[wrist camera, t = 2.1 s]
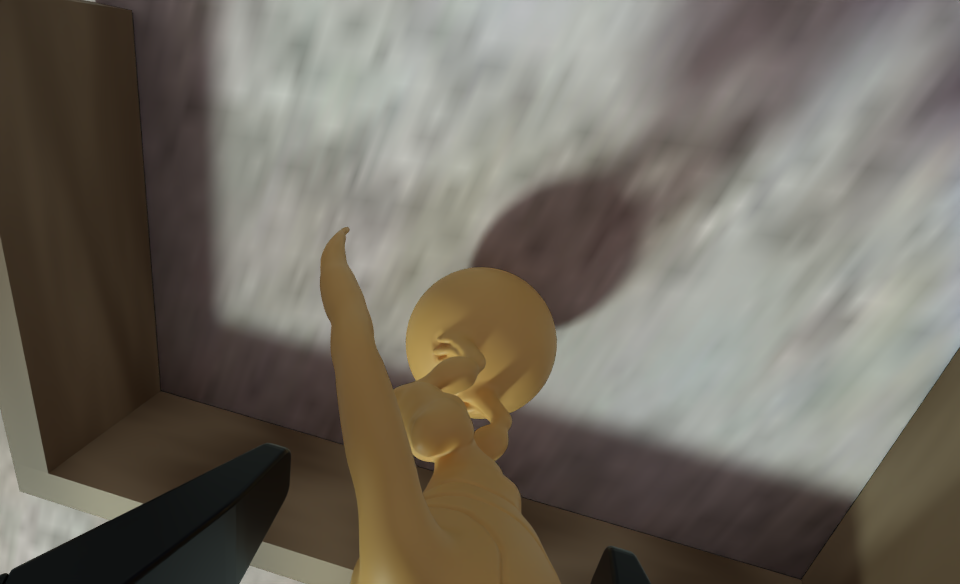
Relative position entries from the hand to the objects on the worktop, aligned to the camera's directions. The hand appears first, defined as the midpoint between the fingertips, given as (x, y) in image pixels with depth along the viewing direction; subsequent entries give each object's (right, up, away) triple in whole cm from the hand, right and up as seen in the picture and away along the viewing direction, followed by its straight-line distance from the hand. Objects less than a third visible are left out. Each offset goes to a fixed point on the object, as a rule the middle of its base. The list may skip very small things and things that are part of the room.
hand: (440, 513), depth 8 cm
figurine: (+2, +3, +7) cm, 8 cm away
